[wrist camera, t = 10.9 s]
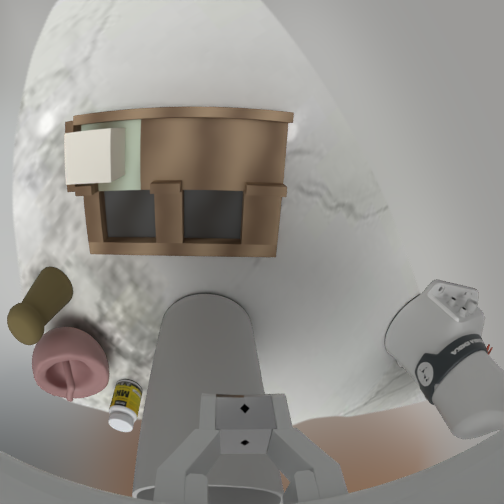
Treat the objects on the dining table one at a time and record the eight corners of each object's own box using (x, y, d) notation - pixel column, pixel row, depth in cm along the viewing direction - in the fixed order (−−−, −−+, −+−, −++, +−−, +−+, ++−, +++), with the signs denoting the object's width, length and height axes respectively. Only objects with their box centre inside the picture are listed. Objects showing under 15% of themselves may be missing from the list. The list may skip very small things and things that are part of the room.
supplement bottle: (132, 376, 42) (123, 416, 34) (147, 393, 44) (141, 432, 36) (111, 381, 42) (100, 418, 35) (126, 397, 44) (118, 434, 37)
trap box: (284, 114, 29) (293, 112, 26) (272, 250, 36) (279, 264, 32) (81, 117, 26) (65, 117, 23) (89, 247, 33) (76, 261, 29)
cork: (77, 305, 36) (46, 356, 26) (45, 302, 35) (11, 348, 25) (67, 267, 33) (29, 313, 23) (34, 266, 33) (-6, 308, 23)
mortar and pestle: (109, 378, 42) (93, 431, 31) (48, 348, 38) (23, 396, 28) (125, 332, 38) (105, 391, 28) (54, 297, 35) (19, 347, 24)
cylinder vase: (252, 288, 37) (293, 477, 15) (251, 358, 42) (278, 515, 20) (155, 292, 36) (109, 476, 13) (169, 361, 41) (155, 516, 18)
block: (125, 127, 26) (110, 128, 22) (125, 174, 28) (111, 182, 24) (83, 131, 25) (64, 133, 21) (84, 176, 27) (65, 184, 23)
